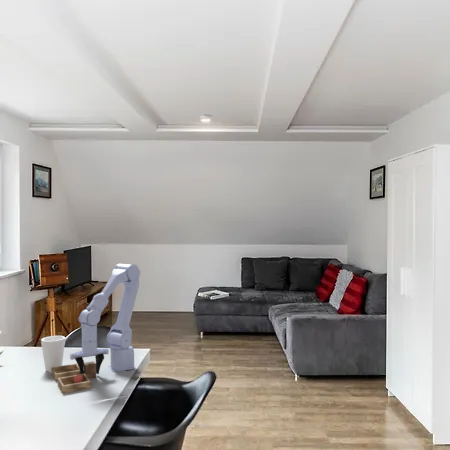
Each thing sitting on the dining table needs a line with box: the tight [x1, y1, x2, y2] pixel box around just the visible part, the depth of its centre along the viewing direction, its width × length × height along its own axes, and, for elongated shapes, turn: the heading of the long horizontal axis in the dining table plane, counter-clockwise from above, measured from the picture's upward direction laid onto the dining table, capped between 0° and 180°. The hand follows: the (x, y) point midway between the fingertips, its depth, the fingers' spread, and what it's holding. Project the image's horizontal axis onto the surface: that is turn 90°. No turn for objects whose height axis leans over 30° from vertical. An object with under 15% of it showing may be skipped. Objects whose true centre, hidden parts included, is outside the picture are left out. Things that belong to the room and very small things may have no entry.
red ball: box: [74, 375, 83, 383], centre depth 170 cm, size 3×3×3 cm
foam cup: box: [40, 335, 66, 373], centre depth 190 cm, size 10×9×13 cm
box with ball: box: [57, 374, 92, 394], centre depth 168 cm, size 10×10×3 cm
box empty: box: [50, 362, 81, 382], centre depth 181 cm, size 10×10×3 cm
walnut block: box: [83, 360, 97, 380], centre depth 178 cm, size 4×4×6 cm
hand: (89, 374), depth 178 cm, fingers open, 5 cm apart
